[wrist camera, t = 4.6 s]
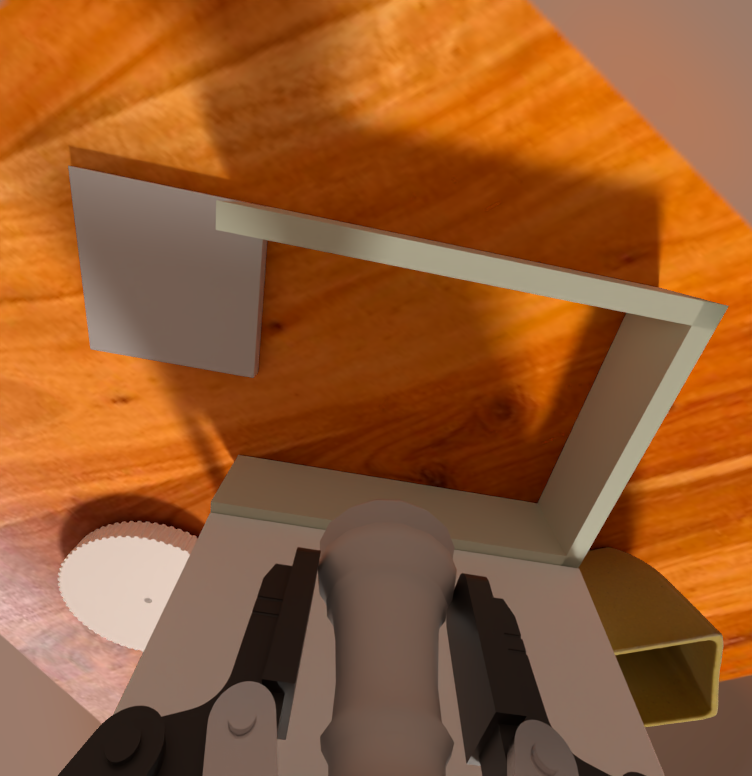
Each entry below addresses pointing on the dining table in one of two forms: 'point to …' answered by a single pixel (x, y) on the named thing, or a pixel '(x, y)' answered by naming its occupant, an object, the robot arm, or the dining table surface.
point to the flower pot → (655, 638)
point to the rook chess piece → (386, 639)
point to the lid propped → (508, 581)
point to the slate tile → (167, 274)
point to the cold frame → (584, 445)
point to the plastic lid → (124, 578)
